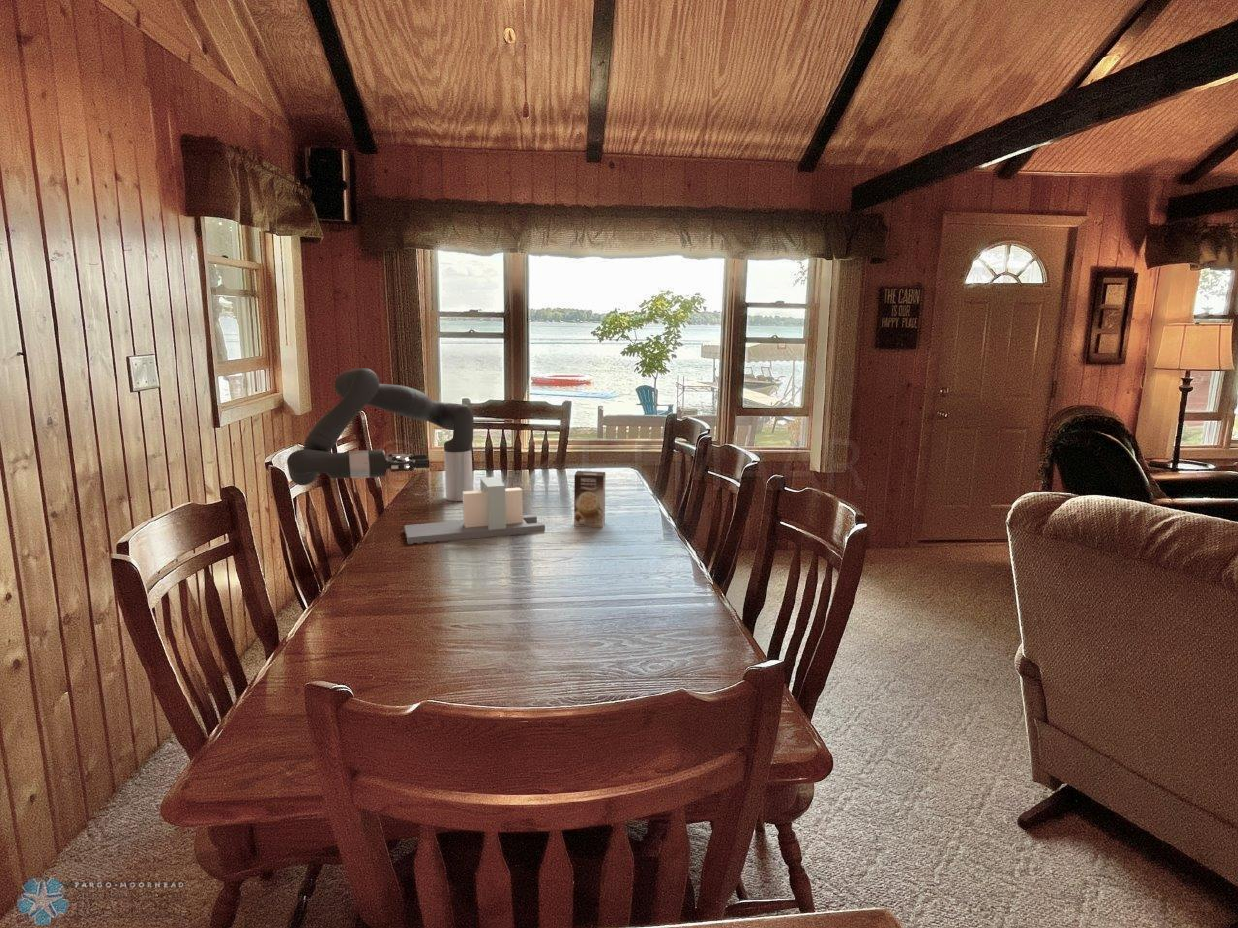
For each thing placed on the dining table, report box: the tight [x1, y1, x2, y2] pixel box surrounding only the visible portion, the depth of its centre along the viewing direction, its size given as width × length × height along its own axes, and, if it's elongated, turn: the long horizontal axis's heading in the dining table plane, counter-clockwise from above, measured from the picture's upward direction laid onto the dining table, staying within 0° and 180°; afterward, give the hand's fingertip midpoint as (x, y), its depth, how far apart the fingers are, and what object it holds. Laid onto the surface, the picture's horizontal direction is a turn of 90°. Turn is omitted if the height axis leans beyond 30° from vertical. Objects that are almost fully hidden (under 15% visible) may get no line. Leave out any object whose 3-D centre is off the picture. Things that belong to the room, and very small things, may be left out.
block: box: [462, 487, 524, 528], centre depth 214 cm, size 3×17×10 cm, turn 110°
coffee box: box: [573, 470, 606, 528], centre depth 221 cm, size 9×6×16 cm
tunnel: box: [479, 476, 506, 530], centre depth 214 cm, size 13×5×13 cm, turn 20°
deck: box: [403, 513, 546, 545], centre depth 213 cm, size 13×39×2 cm, turn 110°
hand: (428, 460), depth 205 cm, fingers open, 8 cm apart
